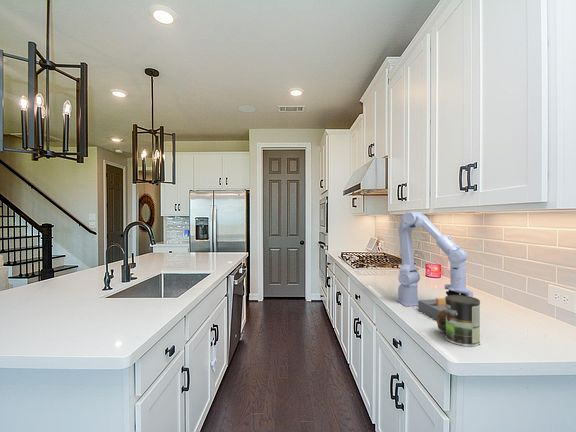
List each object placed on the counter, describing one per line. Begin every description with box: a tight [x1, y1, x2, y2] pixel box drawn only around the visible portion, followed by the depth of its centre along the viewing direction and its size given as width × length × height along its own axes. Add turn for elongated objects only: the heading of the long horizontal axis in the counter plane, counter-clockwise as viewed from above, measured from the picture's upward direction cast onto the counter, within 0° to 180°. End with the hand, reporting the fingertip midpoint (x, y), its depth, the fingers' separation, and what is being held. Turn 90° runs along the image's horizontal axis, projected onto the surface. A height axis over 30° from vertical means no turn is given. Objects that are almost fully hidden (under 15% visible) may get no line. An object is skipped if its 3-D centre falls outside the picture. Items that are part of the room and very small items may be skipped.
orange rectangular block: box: [435, 297, 446, 306], centre depth 134 cm, size 11×2×7 cm, turn 96°
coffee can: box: [444, 294, 481, 348], centre depth 107 cm, size 10×10×14 cm
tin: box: [436, 309, 446, 334], centre depth 115 cm, size 15×3×8 cm, turn 105°
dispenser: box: [417, 298, 446, 321], centre depth 133 cm, size 9×16×4 cm, turn 6°
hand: (458, 309), depth 134 cm, fingers open, 4 cm apart
